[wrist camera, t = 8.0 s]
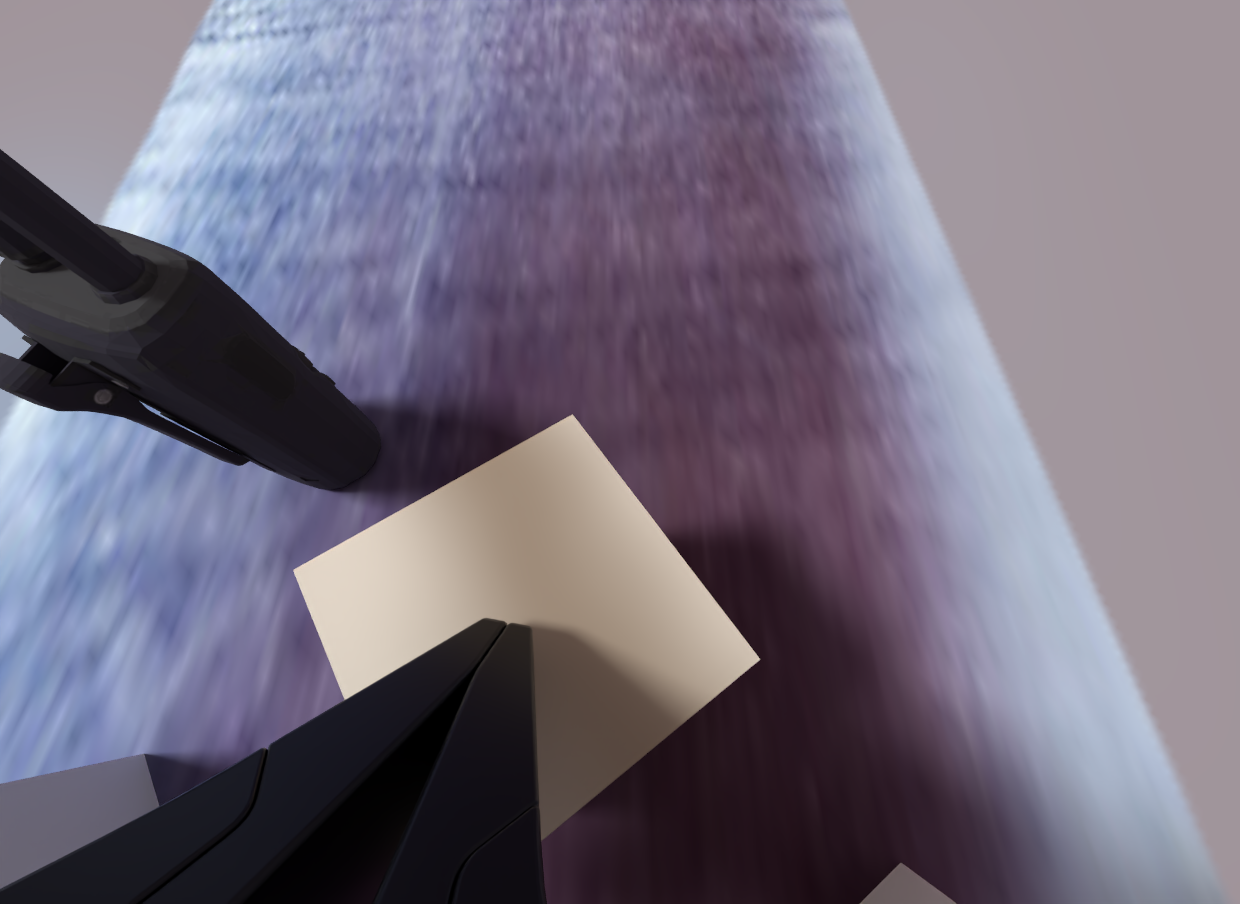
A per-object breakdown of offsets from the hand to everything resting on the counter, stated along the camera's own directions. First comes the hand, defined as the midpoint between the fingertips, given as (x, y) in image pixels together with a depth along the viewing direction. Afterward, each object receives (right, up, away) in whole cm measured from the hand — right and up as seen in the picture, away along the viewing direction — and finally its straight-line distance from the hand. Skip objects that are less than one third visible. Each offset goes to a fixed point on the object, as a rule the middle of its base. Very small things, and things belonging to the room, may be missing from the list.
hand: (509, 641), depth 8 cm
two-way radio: (-10, +3, +12) cm, 16 cm away
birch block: (0, -4, +8) cm, 9 cm away
